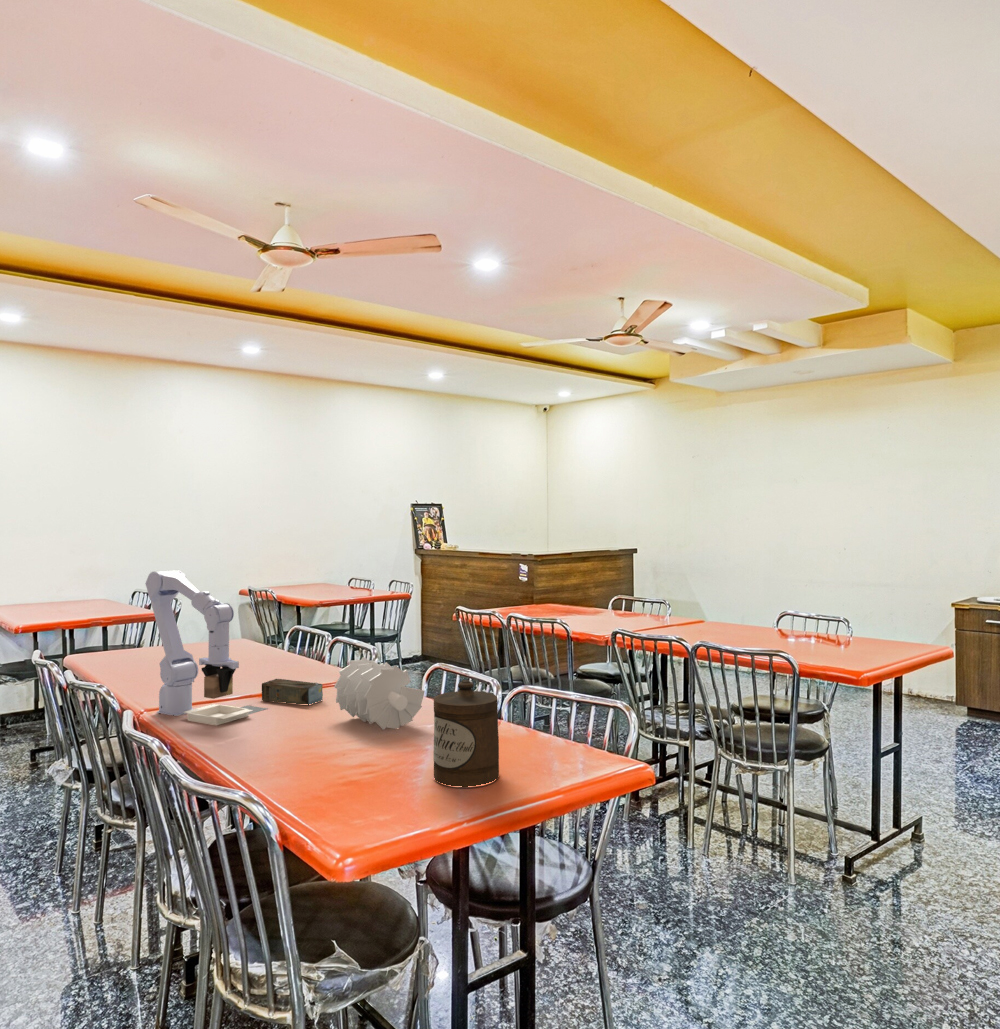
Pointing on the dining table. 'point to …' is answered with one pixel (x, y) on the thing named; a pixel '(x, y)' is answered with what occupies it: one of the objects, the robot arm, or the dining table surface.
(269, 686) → the beverage carton
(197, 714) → the white tray
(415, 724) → the dining table surface
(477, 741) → the wooden container
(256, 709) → the mat
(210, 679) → the walnut block
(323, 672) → the dining table surface
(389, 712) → the spiral staircase
